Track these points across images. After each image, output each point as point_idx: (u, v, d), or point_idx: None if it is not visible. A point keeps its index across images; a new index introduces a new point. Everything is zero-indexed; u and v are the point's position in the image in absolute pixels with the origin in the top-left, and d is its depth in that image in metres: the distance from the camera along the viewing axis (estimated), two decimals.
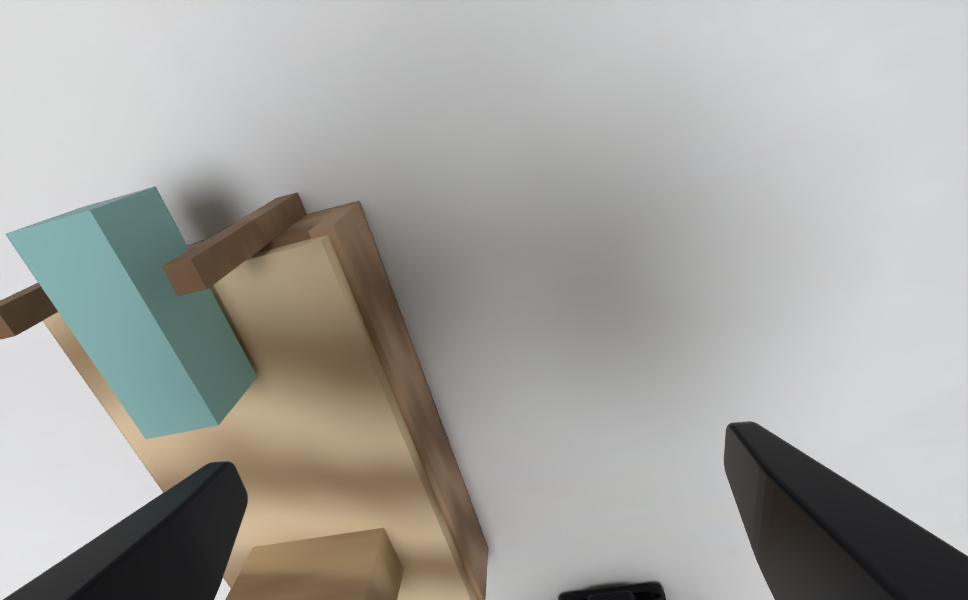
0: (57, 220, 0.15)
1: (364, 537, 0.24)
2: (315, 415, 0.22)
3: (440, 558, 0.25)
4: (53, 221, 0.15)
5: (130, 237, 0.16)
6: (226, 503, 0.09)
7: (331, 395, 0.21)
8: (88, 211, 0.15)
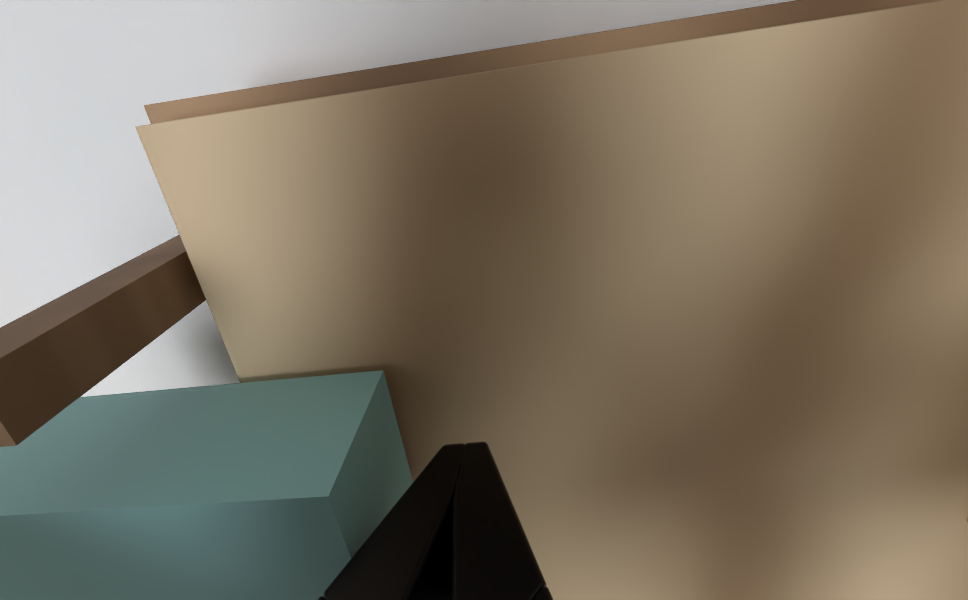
0: None
1: None
2: (607, 270, 0.09)
3: None
4: None
5: None
6: None
7: (552, 214, 0.08)
8: None
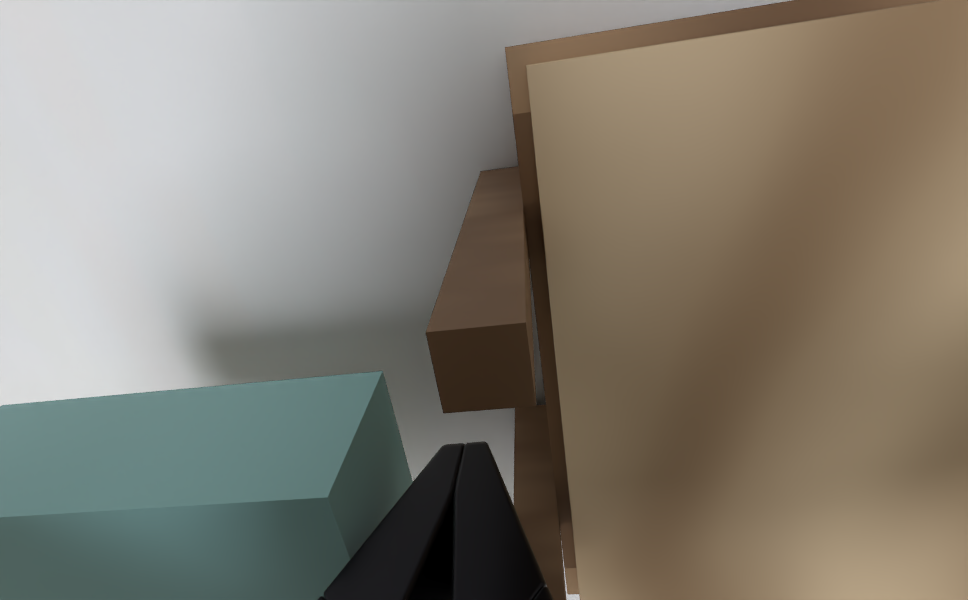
0: None
1: None
2: None
3: None
4: None
5: None
6: None
7: None
8: None
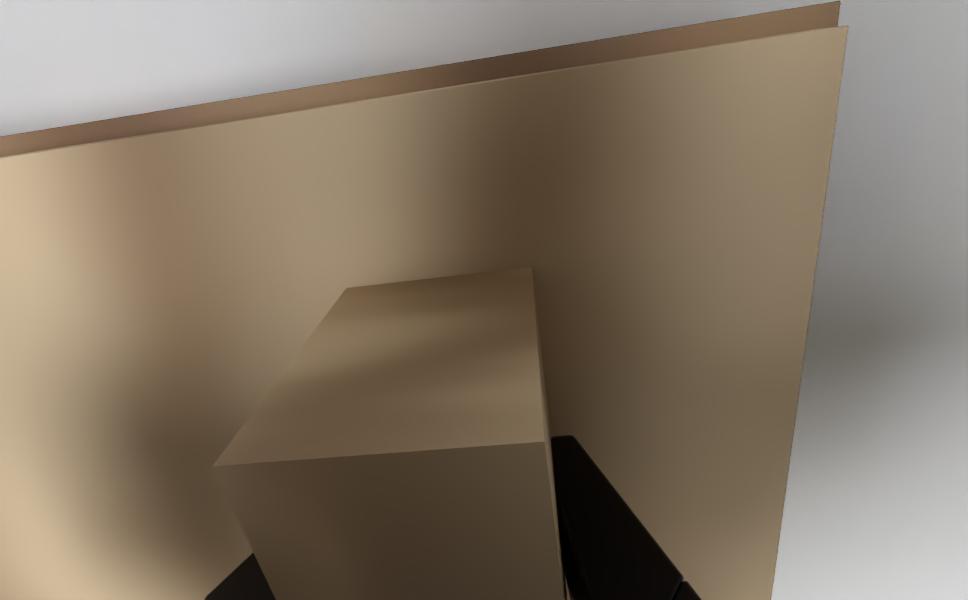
0: None
1: None
2: None
3: (486, 132, 0.07)
4: None
5: None
6: None
7: None
8: None
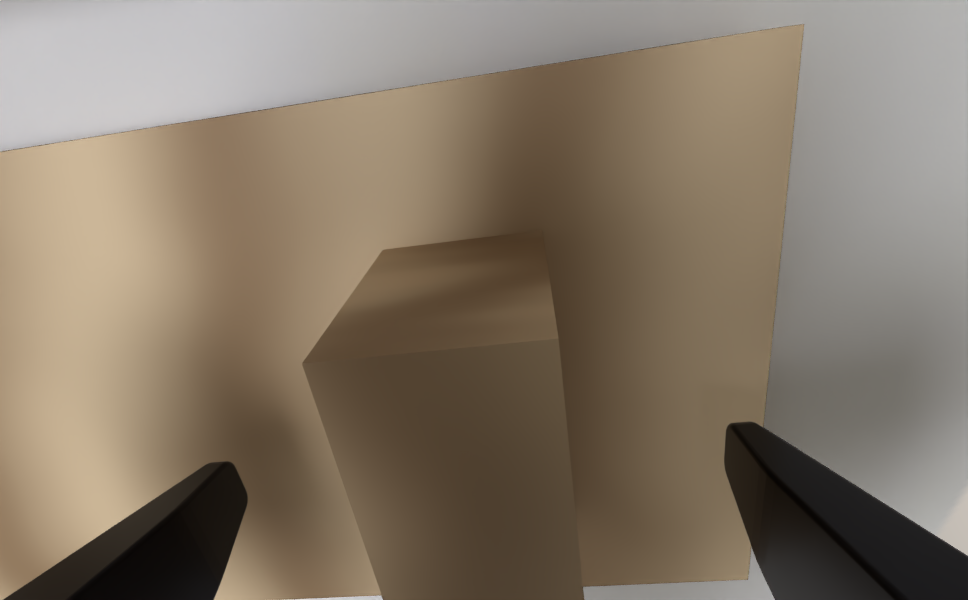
0: None
1: None
2: (67, 316, 0.11)
3: (505, 114, 0.08)
4: None
5: None
6: (226, 503, 0.09)
7: (5, 273, 0.10)
8: None
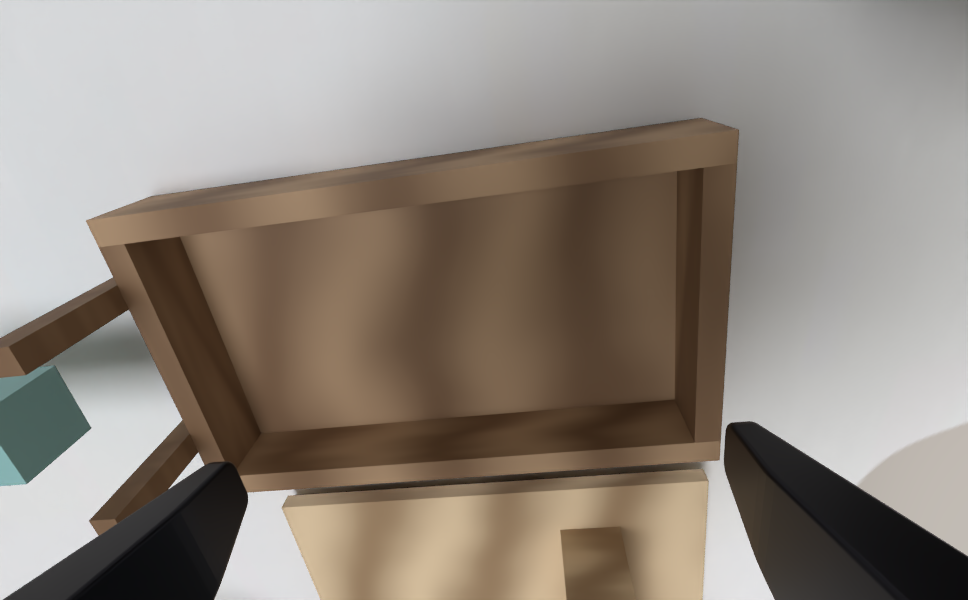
0: None
1: None
2: (429, 545, 0.27)
3: (609, 496, 0.25)
4: None
5: None
6: (226, 503, 0.09)
7: (409, 531, 0.27)
8: None
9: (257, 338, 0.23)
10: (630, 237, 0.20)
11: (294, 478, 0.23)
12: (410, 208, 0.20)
